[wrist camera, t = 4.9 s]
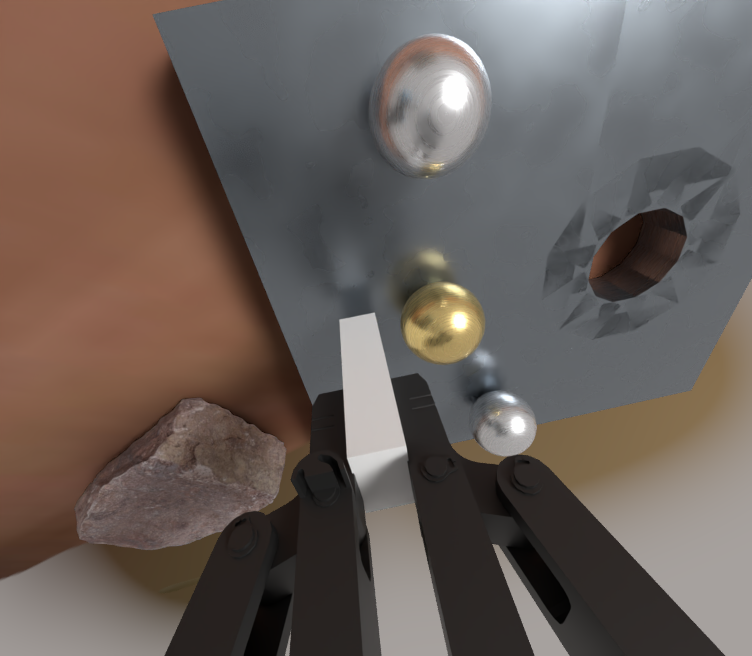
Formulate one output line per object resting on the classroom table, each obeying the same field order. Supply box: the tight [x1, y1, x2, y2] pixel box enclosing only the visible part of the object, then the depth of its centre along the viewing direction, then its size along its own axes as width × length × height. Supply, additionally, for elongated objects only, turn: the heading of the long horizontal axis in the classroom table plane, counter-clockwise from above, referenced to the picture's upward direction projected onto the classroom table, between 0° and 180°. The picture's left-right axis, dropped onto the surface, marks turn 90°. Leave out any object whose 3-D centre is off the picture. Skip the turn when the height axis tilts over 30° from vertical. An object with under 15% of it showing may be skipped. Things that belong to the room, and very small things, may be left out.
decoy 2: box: [469, 390, 537, 456], centre depth 18 cm, size 4×4×4 cm
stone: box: [74, 398, 286, 550], centre depth 21 cm, size 9×12×5 cm
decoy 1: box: [369, 34, 492, 180], centre depth 10 cm, size 4×4×4 cm
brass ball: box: [400, 282, 485, 365], centre depth 14 cm, size 4×4×4 cm
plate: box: [152, 0, 752, 444], centre depth 16 cm, size 24×22×2 cm
